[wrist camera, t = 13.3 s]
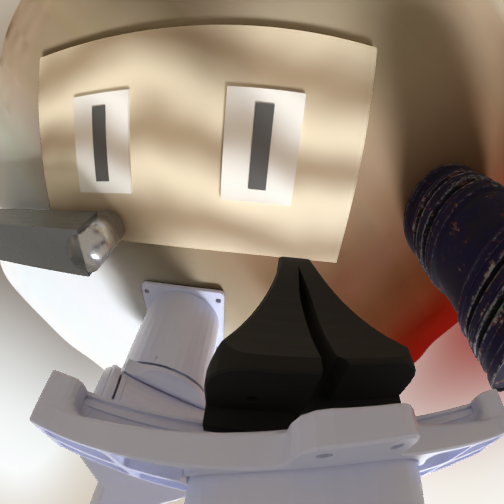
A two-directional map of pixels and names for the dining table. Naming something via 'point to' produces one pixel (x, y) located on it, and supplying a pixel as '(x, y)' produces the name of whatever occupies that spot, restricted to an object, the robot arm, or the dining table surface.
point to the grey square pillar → (59, 238)
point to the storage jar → (464, 254)
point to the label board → (210, 135)
